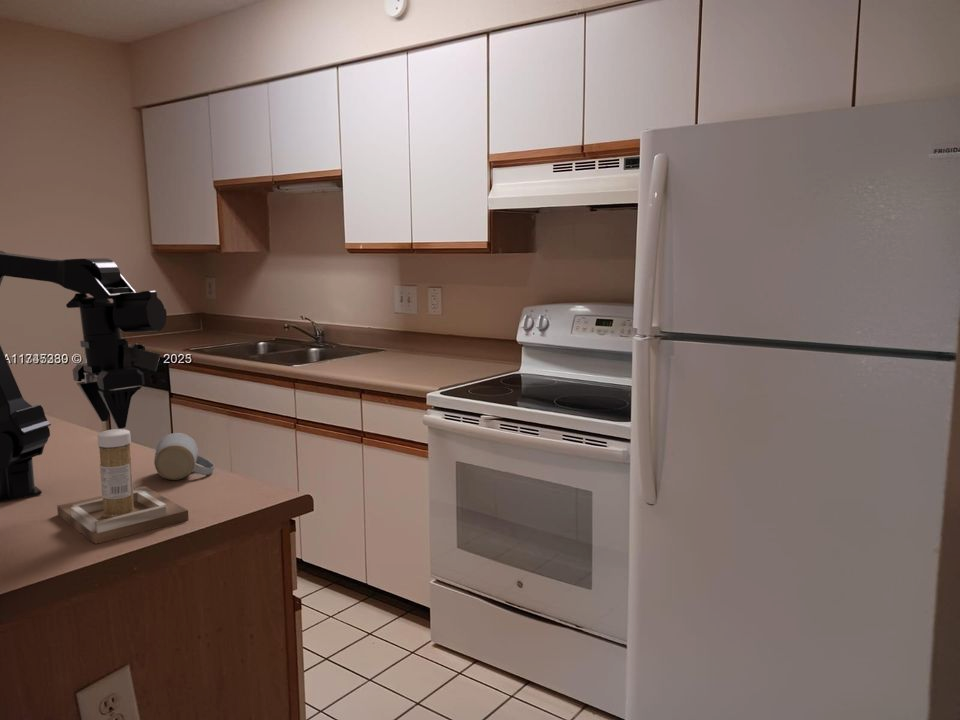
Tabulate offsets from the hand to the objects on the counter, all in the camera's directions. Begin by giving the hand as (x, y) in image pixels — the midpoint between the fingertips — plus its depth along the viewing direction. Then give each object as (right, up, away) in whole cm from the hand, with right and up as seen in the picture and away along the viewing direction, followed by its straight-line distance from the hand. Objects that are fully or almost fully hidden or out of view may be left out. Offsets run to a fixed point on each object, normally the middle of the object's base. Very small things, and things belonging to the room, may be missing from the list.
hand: (113, 424), depth 122 cm
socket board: (+5, -15, -6) cm, 17 cm away
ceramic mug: (+5, -12, +17) cm, 21 cm away
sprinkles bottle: (+6, -14, -9) cm, 17 cm away
